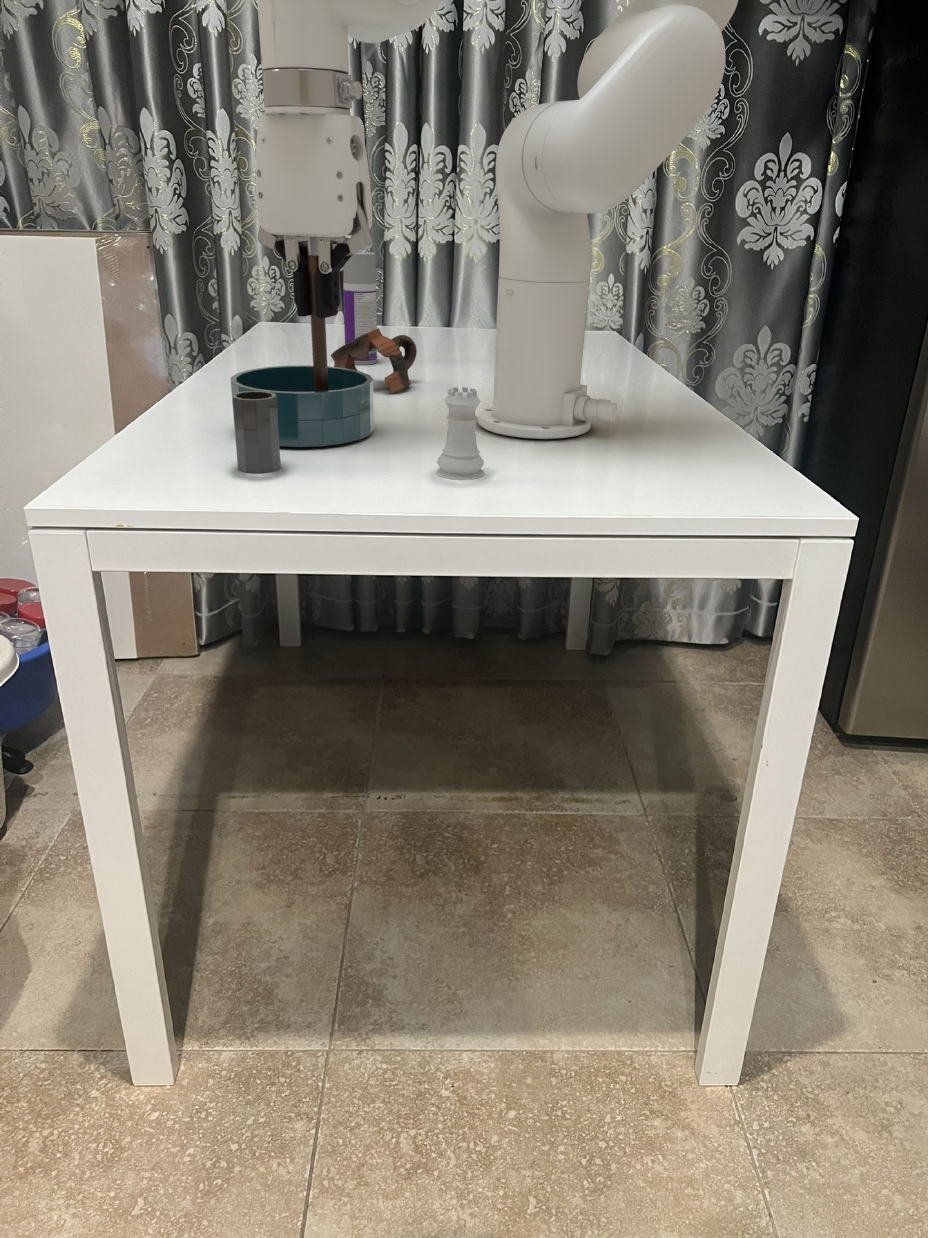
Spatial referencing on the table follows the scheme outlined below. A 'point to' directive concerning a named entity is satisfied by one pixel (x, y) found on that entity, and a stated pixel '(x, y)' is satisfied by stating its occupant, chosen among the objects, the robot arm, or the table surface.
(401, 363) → the brown twisted loop sculpture
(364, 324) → the container
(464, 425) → the rook chess piece
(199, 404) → the table surface
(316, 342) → the stick
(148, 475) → the table surface
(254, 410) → the utensil cup
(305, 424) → the bowl
